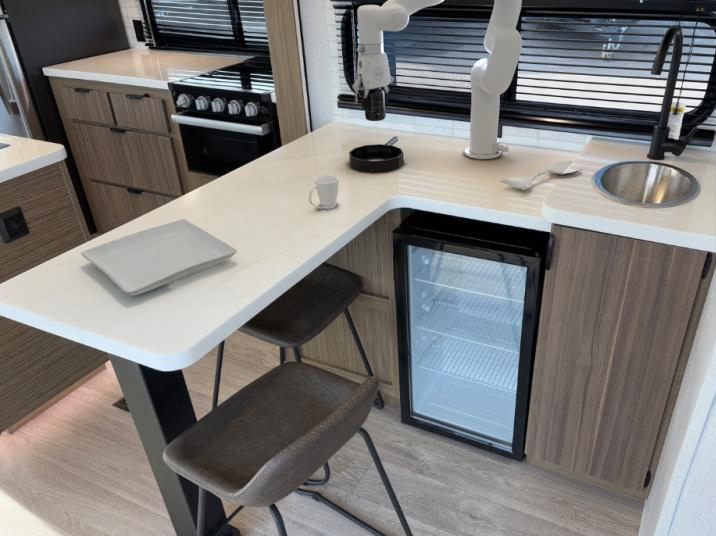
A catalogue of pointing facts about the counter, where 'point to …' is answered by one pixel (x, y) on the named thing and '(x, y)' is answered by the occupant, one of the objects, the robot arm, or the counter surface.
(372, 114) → the supplement bottle
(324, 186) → the cup
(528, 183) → the spoon
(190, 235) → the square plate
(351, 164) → the pan
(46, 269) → the counter surface
